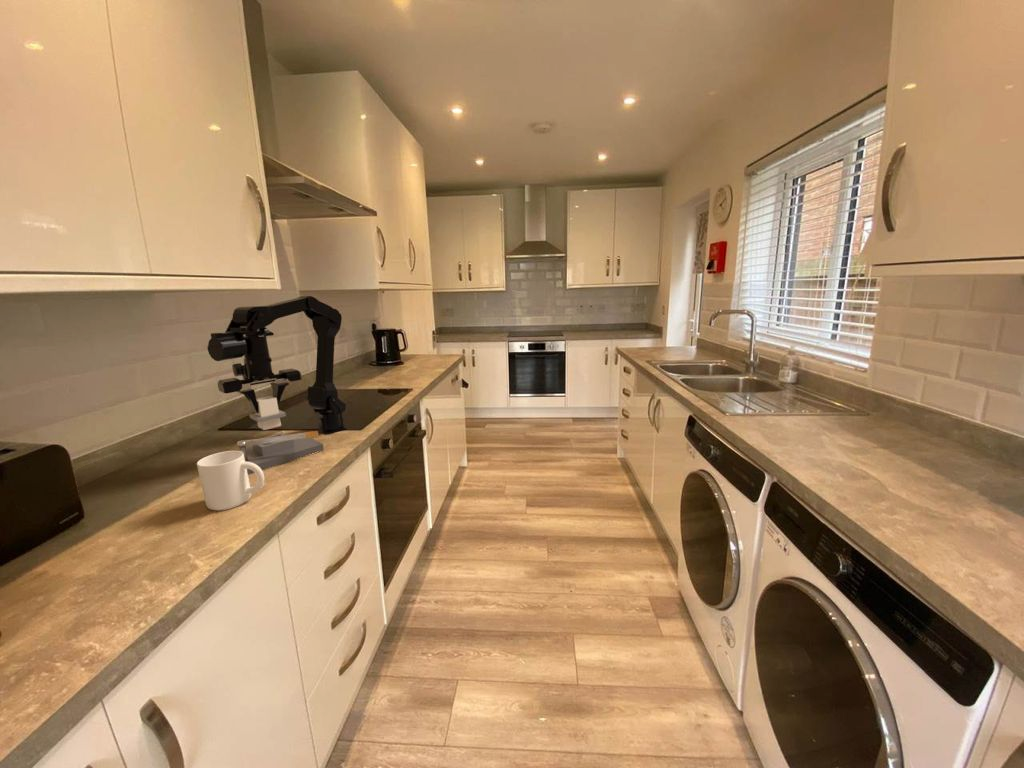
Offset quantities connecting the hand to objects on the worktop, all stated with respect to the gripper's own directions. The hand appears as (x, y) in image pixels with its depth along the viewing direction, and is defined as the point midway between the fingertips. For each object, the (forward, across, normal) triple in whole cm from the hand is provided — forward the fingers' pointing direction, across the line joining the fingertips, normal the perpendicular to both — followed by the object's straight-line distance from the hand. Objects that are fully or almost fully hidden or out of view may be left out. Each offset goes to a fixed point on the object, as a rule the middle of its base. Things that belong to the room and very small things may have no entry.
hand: (266, 410), depth 112 cm
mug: (+13, +15, +22) cm, 30 cm away
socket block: (+13, 0, 0) cm, 13 cm away
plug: (+4, 0, 0) cm, 4 cm away
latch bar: (+7, +1, +7) cm, 10 cm away
